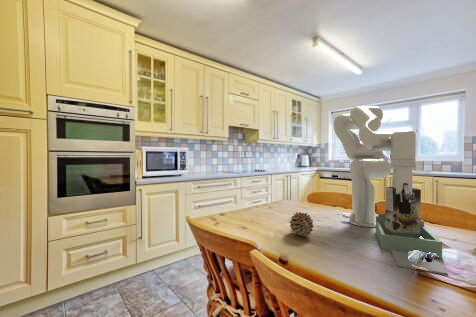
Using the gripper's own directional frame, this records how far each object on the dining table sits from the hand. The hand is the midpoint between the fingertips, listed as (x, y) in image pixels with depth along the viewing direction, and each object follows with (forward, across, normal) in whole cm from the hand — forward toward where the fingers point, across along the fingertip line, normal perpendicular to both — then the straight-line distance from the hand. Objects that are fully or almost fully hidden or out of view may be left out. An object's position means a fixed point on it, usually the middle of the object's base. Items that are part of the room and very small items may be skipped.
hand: (402, 210), depth 83 cm
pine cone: (+13, +6, -36) cm, 39 cm away
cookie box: (+8, 0, 0) cm, 8 cm away
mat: (+11, +18, 0) cm, 21 cm away
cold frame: (+12, +1, 0) cm, 12 cm away
